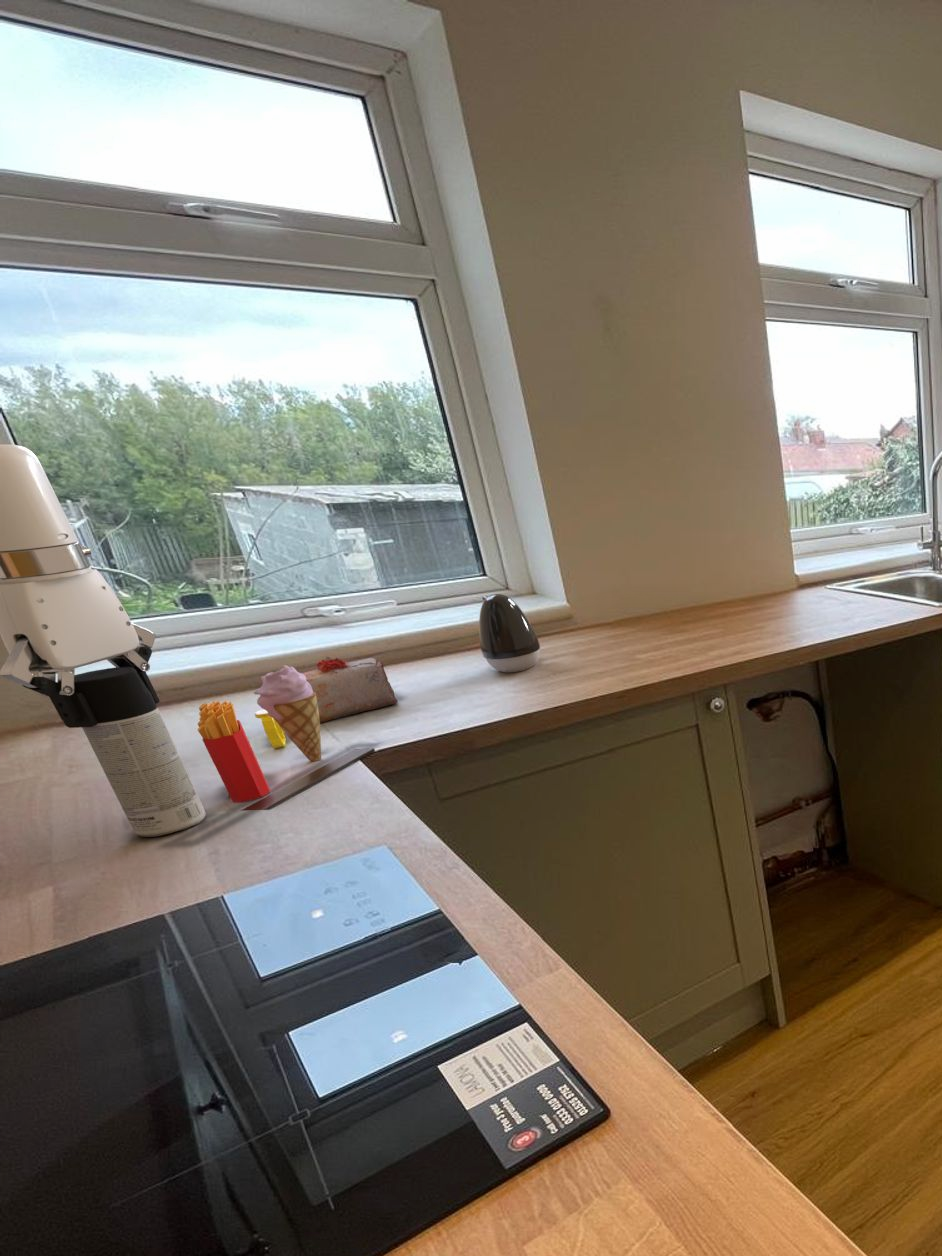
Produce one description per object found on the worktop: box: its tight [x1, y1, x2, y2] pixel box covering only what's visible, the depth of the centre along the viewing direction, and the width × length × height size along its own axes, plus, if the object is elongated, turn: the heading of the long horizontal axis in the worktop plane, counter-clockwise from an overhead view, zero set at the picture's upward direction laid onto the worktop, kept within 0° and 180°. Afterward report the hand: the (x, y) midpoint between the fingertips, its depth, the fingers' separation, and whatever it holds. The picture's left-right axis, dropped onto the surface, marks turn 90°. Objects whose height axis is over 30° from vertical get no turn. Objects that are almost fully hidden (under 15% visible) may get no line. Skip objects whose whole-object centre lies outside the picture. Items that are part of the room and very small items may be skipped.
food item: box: [300, 656, 399, 724], centre depth 142 cm, size 14×8×10 cm, turn 138°
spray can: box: [74, 667, 206, 838], centre depth 98 cm, size 7×7×20 cm
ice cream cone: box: [253, 664, 322, 762], centre depth 120 cm, size 7×6×15 cm
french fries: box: [197, 700, 271, 803], centre depth 110 cm, size 9×4×13 cm, turn 44°
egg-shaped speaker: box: [478, 593, 541, 673], centre depth 161 cm, size 10×10×15 cm
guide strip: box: [240, 747, 376, 812], centre depth 112 cm, size 3×30×1 cm, turn 179°
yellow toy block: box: [254, 708, 287, 749], centre depth 129 cm, size 6×3×6 cm, turn 37°
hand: (114, 713), depth 96 cm, fingers closed on spray can, 6 cm apart
